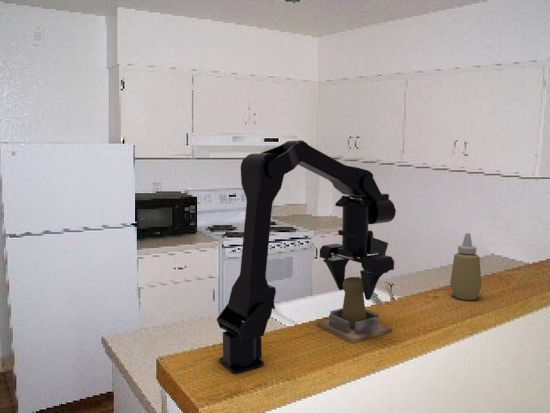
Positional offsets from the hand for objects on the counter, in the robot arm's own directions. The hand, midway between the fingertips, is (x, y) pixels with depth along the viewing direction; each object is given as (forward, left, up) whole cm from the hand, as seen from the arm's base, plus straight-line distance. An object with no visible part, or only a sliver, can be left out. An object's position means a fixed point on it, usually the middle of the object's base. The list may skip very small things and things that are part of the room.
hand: (354, 294), depth 104 cm
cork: (0, 0, -7) cm, 7 cm away
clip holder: (0, 0, -8) cm, 8 cm away
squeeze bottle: (+42, +1, -8) cm, 43 cm away
